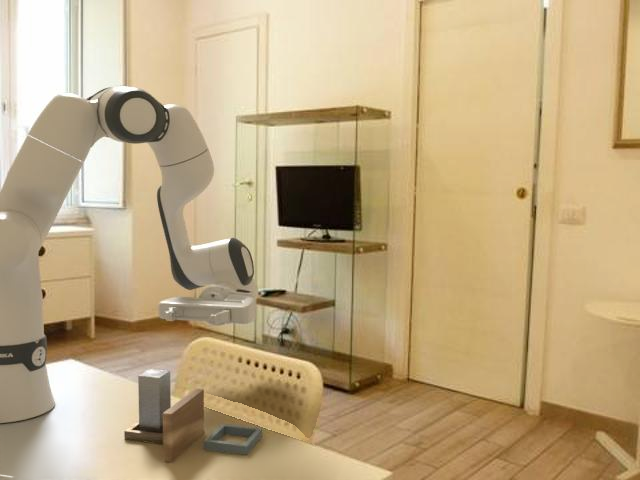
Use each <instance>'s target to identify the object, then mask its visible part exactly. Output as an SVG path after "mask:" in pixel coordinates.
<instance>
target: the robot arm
mask: <svg viewBox="0 0 640 480" xmlns="http://www.w3.org/2000/svg"><path fill="white" fill-rule="evenodd" d="M34 121H35V122H34V123H33V125H32V127H31V128H30V130H29V131H28V133H27V135H26V137H25V138H24V141H23V143H22V145H21V146H20V149H19V150H18V153H17V154H16V156H15V157H14V160H13V162H12V164H11V165H10V168H9V170H8V171H7V174H6V177H5V180H4V182H3V184H2V187H1V190H0V424H4V423H13V422H14V423H15V422H19V421H24V420H28V419H33V418H34V417H38V416H41V415H43V414H45V413H48V412H49V411H50V410H52V409H53V408H54V407H55V405H56V401H55V398H54V395H53V392H52V389H51V383H50V379H49V374H48V368H47V355H48V345H47V344H48V342H47V341H48V340H47V335H46V334H45V332H44V331H45V328H44V299H43V298H44V297H43V290H42V283H41V280H42V279H41V273H40V258H39V257H40V256H39V251H40V250H41V248H42V246H43V244H44V243H45V240H46V238H47V236H48V235H49V232H50V230H51V229H52V226H53V225H54V222H55V220H56V219H57V216H58V215H59V212H60V210H61V208H62V206H63V205H64V202H65V200H66V198H67V196H68V194H69V192H70V190H71V188H72V186H73V184H74V182H75V181H76V179H77V178H78V175H79V173H80V171H81V169H82V167H83V165H84V162H85V161H86V160H87V157H88V155H89V152H90V150H91V148H93V147H94V145H95V144H96V143H97V142H98V141H99V140H101V139H102V138H105V137H106V138H110V139H111V140H112V141H116V142H119V143H120V142H121V143H124V144H126V143H128V144H133V145H135V144H148V145H149V147H150V148H151V150H152V152H154V153H153V154H154V155H155V158H156V161H157V164H158V166H159V169H160V173H161V185H160V186H159V187H158V189H157V192H156V201H157V207H158V213H159V216H160V217H159V218H160V221H161V224H162V229H163V232H164V237H165V240H166V245H167V249H168V253H169V263H170V269H171V270H170V271H171V275H172V278H173V280H174V281H175V282H176V283H177V284H178V285H179V286H180V287H182V288H184V289H186V290H188V291H193V290H196V289H200V288H203V287H205V288H204V289H203V290H201V292H200V294H199V296H198V297H196V296H192V297H191V296H175V297H171V298H167V299H163V300H161V301H159V302H158V306H157V307H158V309H157V310H158V316H159V318H160V319H161V320H165V321H166V322H168V321H169V322H174V321H188V322H189V321H190V322H191V321H192V322H205V323H207V324H209V325H212V326H217V327H218V326H223V325H226V324H227V325H229V324H238V325H246V324H247V325H248V324H251V323H253V322H255V321H256V319H257V300H258V296H259V287H258V283H257V281H256V280H255V278H254V274H255V268H254V267H255V265H254V261H253V258H252V257H253V256H252V254H251V251H250V250H249V248H248V247H247V246H246V245H245V244H244V243H243V242H242V241H241V240H239V239H238V238H235V237H231V238H225V239H220V240H215V241H211V242H207V243H202V244H196V245H195V244H193V243H191V242H190V239H189V235H188V230H187V226H186V222H185V218H184V208H185V206H187V204H188V203H190V202H191V201H193V200H195V198H197V197H198V196H200V195H201V194H202V193H203V192H204V191H205V190H206V189H207V188H208V187H209V185H210V184H211V183H212V181H213V178H214V174H215V173H214V172H215V165H214V161H213V158H212V155H211V152H210V150H209V148H208V145H207V142H206V140H205V137H204V136H203V133H202V131H201V129H200V127H199V126H198V123H197V122H196V120H195V119H194V116H193V115H192V113H191V112H190V111H189V110H188V108H186V107H185V106H184V105H180V104H175V103H174V104H166V105H165V104H164V105H163V104H162V103H161V102H160V101H158V99H156V98H155V97H154V96H153V95H152V94H150V93H149V92H148V91H145V90H144V89H142V88H138V87H133V86H129V85H115V86H109V87H106V88H102V89H101V90H99V91H97V92H95V93H94V94H93V95H90V96H88V97H87V98H84V97H82V96H80V95H77V94H74V93H60V94H59V93H58V94H57V95H55V96H53V98H52V99H51V100H50V101H49V102H48V104H46V106H45V107H44V108H43V109H42V111H41V113H39V115H38V117H37V118H36V119H35V120H34ZM209 285H210V286H209ZM206 286H207V287H206Z"/></svg>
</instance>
